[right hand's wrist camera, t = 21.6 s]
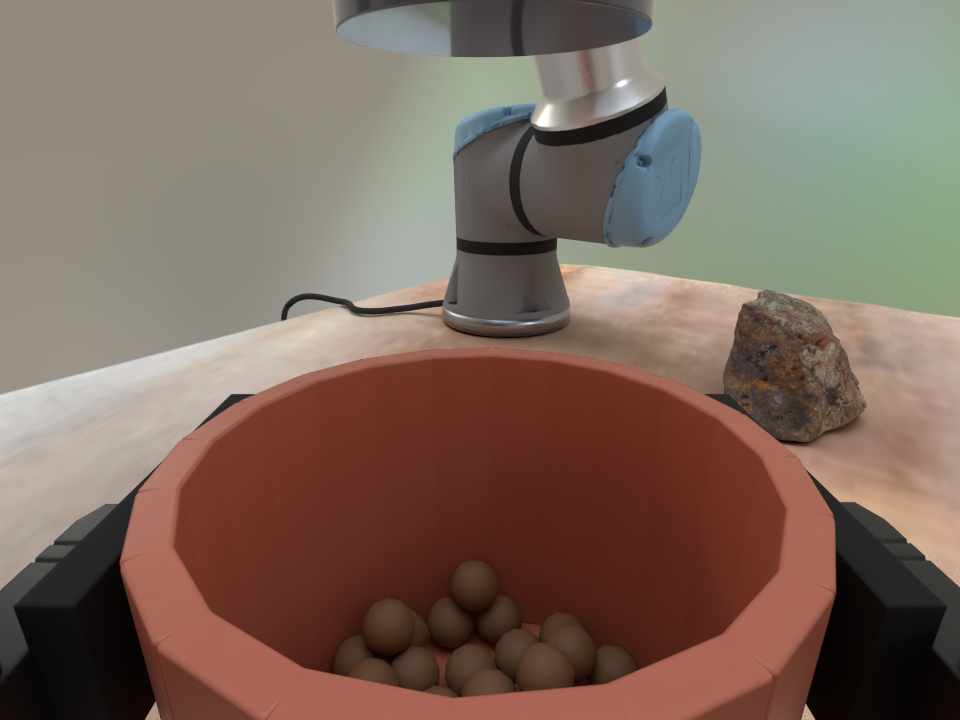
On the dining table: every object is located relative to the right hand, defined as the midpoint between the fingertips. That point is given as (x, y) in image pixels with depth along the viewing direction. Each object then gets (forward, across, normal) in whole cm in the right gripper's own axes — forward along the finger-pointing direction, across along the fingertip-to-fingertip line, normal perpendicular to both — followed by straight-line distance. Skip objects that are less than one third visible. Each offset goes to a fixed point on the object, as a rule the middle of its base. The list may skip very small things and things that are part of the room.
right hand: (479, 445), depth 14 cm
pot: (-4, 0, -6) cm, 8 cm away
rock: (+29, +25, -12) cm, 40 cm away
